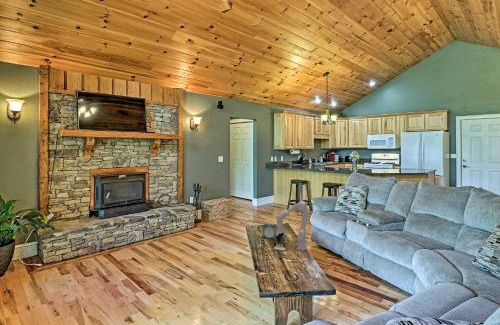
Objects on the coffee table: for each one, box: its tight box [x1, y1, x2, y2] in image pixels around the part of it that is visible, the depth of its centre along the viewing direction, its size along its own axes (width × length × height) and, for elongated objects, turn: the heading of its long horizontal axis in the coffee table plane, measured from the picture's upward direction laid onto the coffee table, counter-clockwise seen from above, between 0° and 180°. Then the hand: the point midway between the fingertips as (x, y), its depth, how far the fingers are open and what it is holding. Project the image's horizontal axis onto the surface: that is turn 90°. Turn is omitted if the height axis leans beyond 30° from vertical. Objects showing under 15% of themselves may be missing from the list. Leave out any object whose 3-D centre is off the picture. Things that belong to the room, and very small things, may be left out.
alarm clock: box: [262, 223, 277, 239], centre depth 297 cm, size 13×6×15 cm, turn 88°
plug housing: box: [271, 235, 286, 245], centre depth 274 cm, size 4×12×6 cm, turn 62°
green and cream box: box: [272, 243, 287, 253], centre depth 262 cm, size 8×10×5 cm
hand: (279, 241), depth 273 cm, fingers closed on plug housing, 4 cm apart
